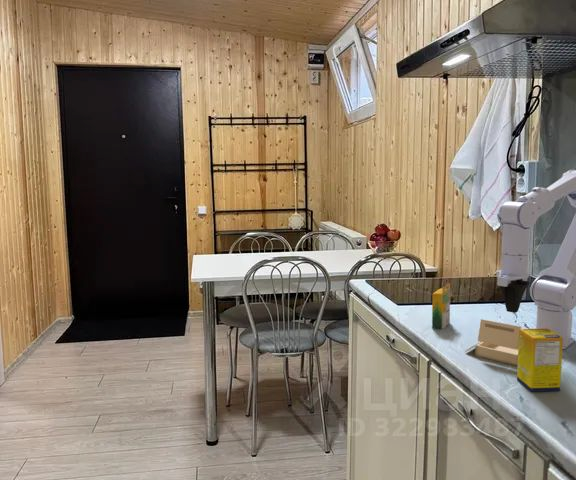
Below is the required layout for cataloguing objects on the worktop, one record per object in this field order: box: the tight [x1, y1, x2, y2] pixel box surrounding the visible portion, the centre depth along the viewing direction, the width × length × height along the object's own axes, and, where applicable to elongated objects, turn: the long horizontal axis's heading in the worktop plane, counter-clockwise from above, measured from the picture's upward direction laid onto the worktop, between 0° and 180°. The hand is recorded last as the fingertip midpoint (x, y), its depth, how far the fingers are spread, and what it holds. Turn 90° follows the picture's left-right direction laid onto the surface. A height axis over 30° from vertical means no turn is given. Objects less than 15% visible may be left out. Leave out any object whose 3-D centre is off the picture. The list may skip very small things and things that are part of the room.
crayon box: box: [431, 282, 451, 330], centre depth 140 cm, size 7×3×12 cm, turn 147°
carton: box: [464, 341, 518, 367], centre depth 119 cm, size 15×15×2 cm
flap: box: [477, 319, 522, 350], centre depth 113 cm, size 5×9×1 cm
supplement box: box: [516, 328, 563, 393], centre depth 100 cm, size 6×6×11 cm
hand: (512, 311), depth 118 cm, fingers closed
